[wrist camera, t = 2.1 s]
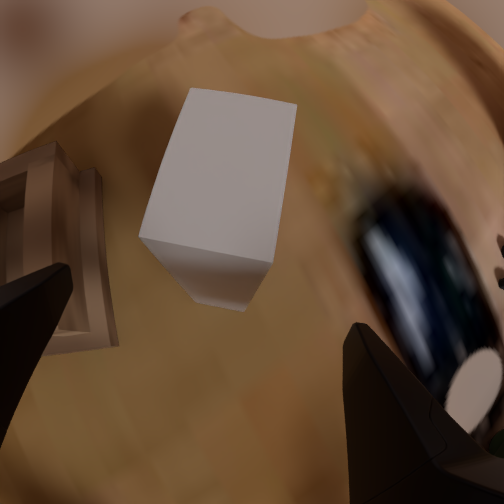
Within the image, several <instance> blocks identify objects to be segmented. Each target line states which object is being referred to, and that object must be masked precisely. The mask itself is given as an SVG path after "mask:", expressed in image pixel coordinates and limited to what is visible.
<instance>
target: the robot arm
mask: <svg viewBox="0 0 504 504" xmlns="http://www.w3.org/2000/svg"><path fill="white" fill-rule="evenodd" d="M72 292H73V279H72V273H71V268H70V266H69V265H68V264H65V263H61V262H57V263H55V264H52V265H50V266H47V267H45V268H42V269H40V270H37V271H35V272H32V273H30V274H28V275H25V276H23V277H20V278H18V279H16V280H13V281H11V282H9V283H6V284H4V285H2V286H0V448H1V445H2V443H3V440H4V437H5V435H6V432H7V429H8V427H9V425H10V422H11V420H12V417H13V415H14V413H15V410H16V408H17V406H18V403H19V401H20V399H21V397H22V395H23V392H24V390H25V388H26V386H27V384H28V382H29V380H30V378H31V376H32V374H33V372H34V370H35V368H36V366H37V364H38V362H39V360H40V358H41V356H42V354H43V352H44V350H45V348H46V346H47V344H48V343H49V341H50V339H51V337H52V335H53V333H54V331H55V330H56V328H57V325H58V323H59V321H60V319H61V316H62V314H63V312H64V310H65V307H66V305H67V303H68V301H69V299H70V297H71V294H72ZM343 402H344V413H345V425H346V438H347V453H348V471H349V496H350V504H504V459H502V458H498V457H495V456H493V455H491V454H490V453H488V452H487V451H485V450H484V449H483V448H482V447H481V446H480V445H479V444H478V443H477V442H476V441H475V440H474V439H473V438H472V437H471V436H470V435H469V434H468V433H467V432H466V431H465V430H464V429H463V428H462V427H461V426H460V425H459V424H458V423H456V421H455V420H454V419H453V418H452V417H451V416H450V415H449V414H448V413H447V412H446V411H445V410H444V409H443V407H442V406H441V405H440V404H439V403H438V402H437V401H436V400H435V398H433V397H432V395H431V394H430V393H429V392H428V391H427V389H426V388H425V387H424V386H423V385H422V384H421V383H420V382H419V380H418V379H417V378H416V377H415V376H414V375H413V374H412V373H411V372H410V370H409V369H408V368H407V367H406V366H405V365H404V364H403V363H402V362H401V360H400V359H399V358H398V357H397V356H396V355H395V354H394V353H393V352H392V351H391V349H390V348H389V347H388V346H387V345H386V344H385V343H384V342H383V341H382V340H381V339H380V337H379V336H378V335H377V334H376V333H375V332H374V331H373V330H372V329H371V328H370V327H369V326H368V325H367V324H365V323H357V322H356V323H354V324H353V325H352V327H351V329H350V331H349V333H348V335H347V337H346V339H345V341H344V344H343Z"/></svg>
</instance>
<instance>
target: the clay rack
mask: <svg viewBox="0 0 504 504" xmlns="http://www.w3.org/2000/svg"><path fill="white" fill-rule="evenodd" d="M57 262H61V263H65V264H68V265H69V266H70V268H71V273H72V279H73V292H72V294H71V297H70V299H69V301H68V303H67V305H66V307H65V310H64V312H63V314H62V316H61V319H60V321H59V323H58V325H57V328H56V330H55V331H54V333H53V335H52V337H51V339H50V341H49V343H48V344H47V346H46V348H45V350H44V352H43V354H42V356H47V355H56V354H65V353H73V352H81V351H89V350H96V349H103V348H110V347H117V346H119V342H118V337H117V331H116V326H115V320H114V314H113V307H112V300H111V293H110V286H109V278H108V269H107V260H106V249H105V237H104V223H103V205H102V177H101V176H100V174H99V173H98V171H97V170H96V168H95V167H94V168H90V169H87V170H84V171H79V170H78V169H77V168H76V166H75V165H74V164H73V162H72V161H71V160H70V158H69V157H68V156H67V155H66V153H65V152H64V151H63V149H62V148H61V147H60V145H59V144H58V143H57V141H55V142H52V143H49V144H46V145H44V146H41V147H38V148H36V149H33V150H30V151H28V152H25V153H23V154H20V155H18V156H16V157H13V158H11V159H8V160H6V161H4V162H2V163H0V286H2V285H4V284H6V283H9V282H11V281H13V280H16V279H18V278H20V277H23V276H25V275H28V274H30V273H32V272H35V271H37V270H40V269H42V268H45V267H47V266H50V265H52V264H55V263H57Z"/></svg>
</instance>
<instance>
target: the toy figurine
mask: <svg viewBox="0 0 504 504" xmlns="http://www.w3.org/2000/svg"><path fill="white" fill-rule="evenodd" d="M489 453H490V454H491V455H493V456H495V457H498V458H502V459H504V429H503V430H501V431H499V432H498V433H497V434H496V435H495V436H494V437H493V439H492V441H491V443H490V446H489Z"/></svg>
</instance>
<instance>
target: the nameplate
mask: <svg viewBox="0 0 504 504" xmlns="http://www.w3.org/2000/svg"><path fill="white" fill-rule="evenodd" d="M501 252H502V256H503V258H504V246H503V247H502V250H501ZM498 284H499V287H500V288H501V289H503V290H504V278H503V279H500V280H499V282H498Z"/></svg>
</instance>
